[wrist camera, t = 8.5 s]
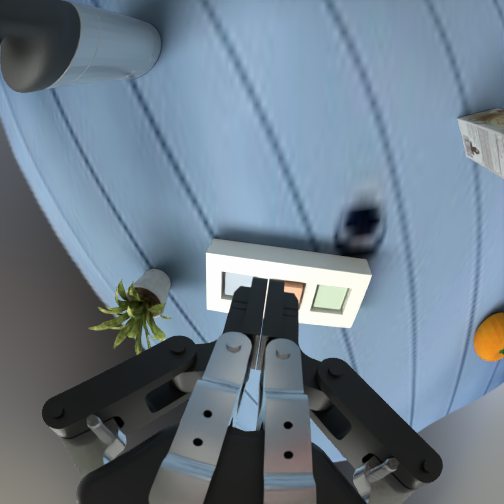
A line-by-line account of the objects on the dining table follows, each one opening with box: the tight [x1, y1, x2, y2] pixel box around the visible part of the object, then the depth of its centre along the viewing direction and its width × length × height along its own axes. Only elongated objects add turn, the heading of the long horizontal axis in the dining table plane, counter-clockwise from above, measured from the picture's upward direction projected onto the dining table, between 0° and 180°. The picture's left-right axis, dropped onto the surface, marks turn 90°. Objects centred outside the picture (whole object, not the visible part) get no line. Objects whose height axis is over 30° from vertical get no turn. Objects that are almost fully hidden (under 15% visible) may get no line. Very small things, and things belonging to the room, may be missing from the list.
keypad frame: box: [206, 238, 372, 328], centre depth 45 cm, size 24×11×4 cm, turn 85°
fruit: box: [474, 312, 504, 361], centre depth 43 cm, size 12×12×10 cm
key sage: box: [313, 284, 348, 310], centre depth 44 cm, size 4×4×2 cm
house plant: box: [90, 269, 171, 355], centre depth 44 cm, size 14×14×16 cm
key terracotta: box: [273, 279, 303, 301], centre depth 43 cm, size 4×4×2 cm
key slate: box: [225, 272, 256, 296], centre depth 45 cm, size 4×4×2 cm
